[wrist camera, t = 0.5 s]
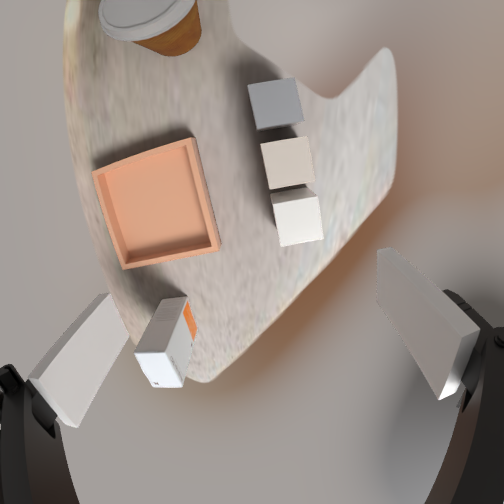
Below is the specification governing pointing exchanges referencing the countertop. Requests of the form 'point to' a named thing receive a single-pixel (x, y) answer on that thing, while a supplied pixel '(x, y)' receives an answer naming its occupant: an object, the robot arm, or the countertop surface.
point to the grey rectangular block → (275, 104)
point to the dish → (158, 205)
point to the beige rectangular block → (287, 162)
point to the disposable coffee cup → (153, 23)
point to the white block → (297, 216)
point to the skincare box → (168, 343)
